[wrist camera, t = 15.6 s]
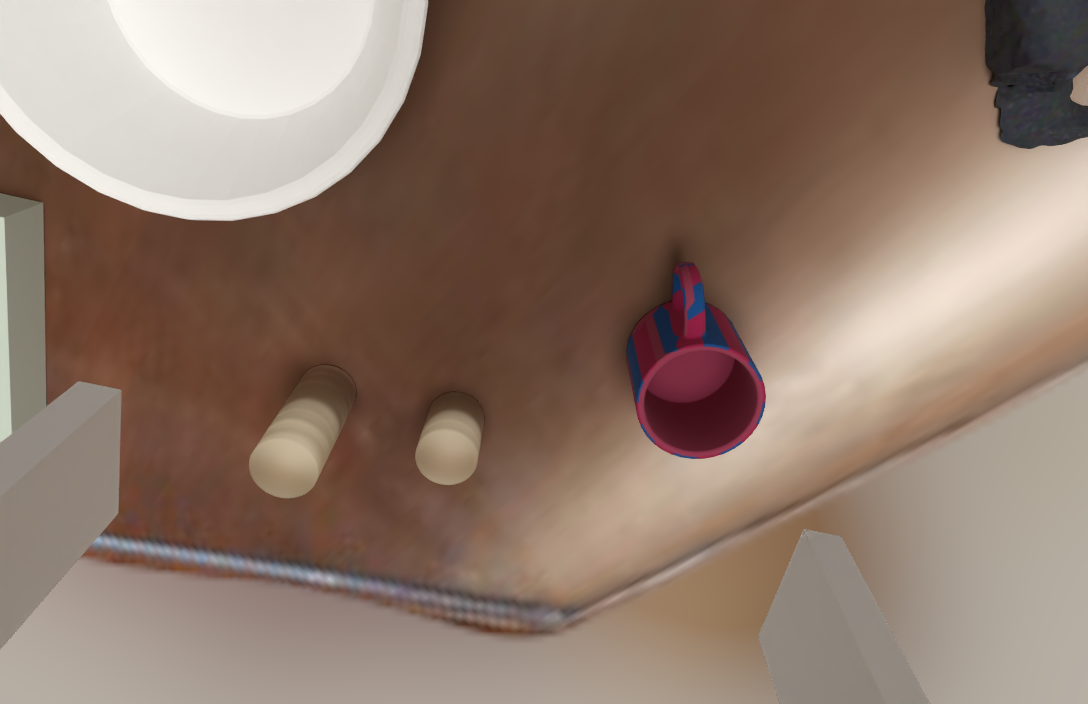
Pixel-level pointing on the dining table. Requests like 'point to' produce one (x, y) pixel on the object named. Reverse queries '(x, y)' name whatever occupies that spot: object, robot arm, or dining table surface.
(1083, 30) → the black cloth
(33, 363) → the board
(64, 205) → the dining table surface
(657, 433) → the cup
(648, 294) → the dining table surface
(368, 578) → the dining table surface
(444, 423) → the pin short
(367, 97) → the bowl
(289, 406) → the pin medium
